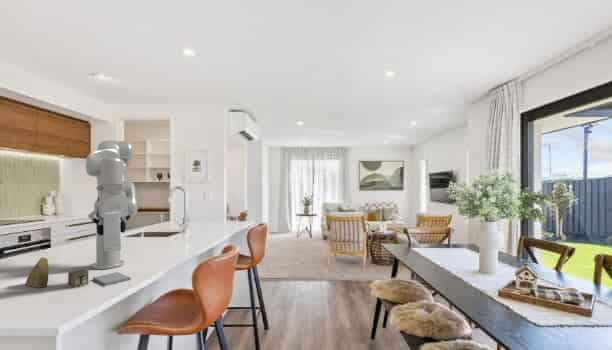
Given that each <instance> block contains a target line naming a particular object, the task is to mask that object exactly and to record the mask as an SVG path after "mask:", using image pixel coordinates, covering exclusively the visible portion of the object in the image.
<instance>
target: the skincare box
mask: <svg viewBox="0 0 612 350" xmlns="http://www.w3.org/2000/svg"><path fill="white" fill-rule="evenodd" d="M120 222H121V220H120V212H113V213H105V214H104V218H103V249H104V251H115V250H120V251H122V237H121V233H122V232H121V231H120Z"/></svg>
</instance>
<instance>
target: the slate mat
mask: <svg viewBox="0 0 612 350" xmlns="http://www.w3.org/2000/svg"><path fill="white" fill-rule="evenodd" d="M94 280H95V281H94ZM92 281H94V282H96V283H98V284H101V285H102V286H105V287H106V286H110V285H115V284H119V282H120V283H123V281H124V282H127V281H131V277H130V276H128V275H125V274H123V273H120V272H118V271H116V272H112V273H108V274H103V275H98V276H93V277H92Z"/></svg>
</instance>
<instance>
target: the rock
mask: <svg viewBox="0 0 612 350" xmlns="http://www.w3.org/2000/svg"><path fill="white" fill-rule="evenodd" d="M48 261H49V260H48V258H46V257H41V258H40V259H39V260H38V261H37V262H36V264H35V265H34V267H33V268H32V269H31V271H30V272H29V275H28V276H27V278H26V281H25V283H24V285H26V286H27V287H30V288H31V287H33V288H46V287H47V286H48V283H49V262H48Z"/></svg>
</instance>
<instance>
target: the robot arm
mask: <svg viewBox="0 0 612 350" xmlns="http://www.w3.org/2000/svg"><path fill="white" fill-rule="evenodd" d="M133 153H134V150H133V146H132V144H131V143H130V142H129V141H124V140H123V141H122V140H103V141H101V142H99V144H98V145H97V150H96V151H92V152H90V153H89V154H88V155H87V157H86V158H85V171H86V174H87V175H88V176H90V177H96V185H97V186H96V190H97V191H96V193H97V199H96V200H95V201H94V204H93V211H91V212H90V213H88V214H87V217H88V219H90V220H91V221H92V223H94V224H95V226H96V227H95V228H96V229H95V230H96V231H95V233H96V240H95V241H96V244H95V245H96V246H95V247H96V249H95V251H96V252H95V253H96V256H95V257H96V259H95V261H96V262H95V263H93V264H92V265H91V268H92V269H93V270H107V269H114V268H119V267H122V266H123V265H125V261H124V260H122V259H121V250H115V251H104V249H103V218H104V214H105V213H113V212H120V231H121V233H125V231H126V226H127V225H126V223H127V222H128V220H130V218H131V217H134V216H135V215H136V214H137V213H138V211H139V210H138V209H139V207H138V198H137V190H136V186H135V184H134V182H133V181H129V180H124V178H123V177H124V175H125V174H126V173H127V168H128V167H130V166H131V161H132V158H133V155H134V154H133Z"/></svg>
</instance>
